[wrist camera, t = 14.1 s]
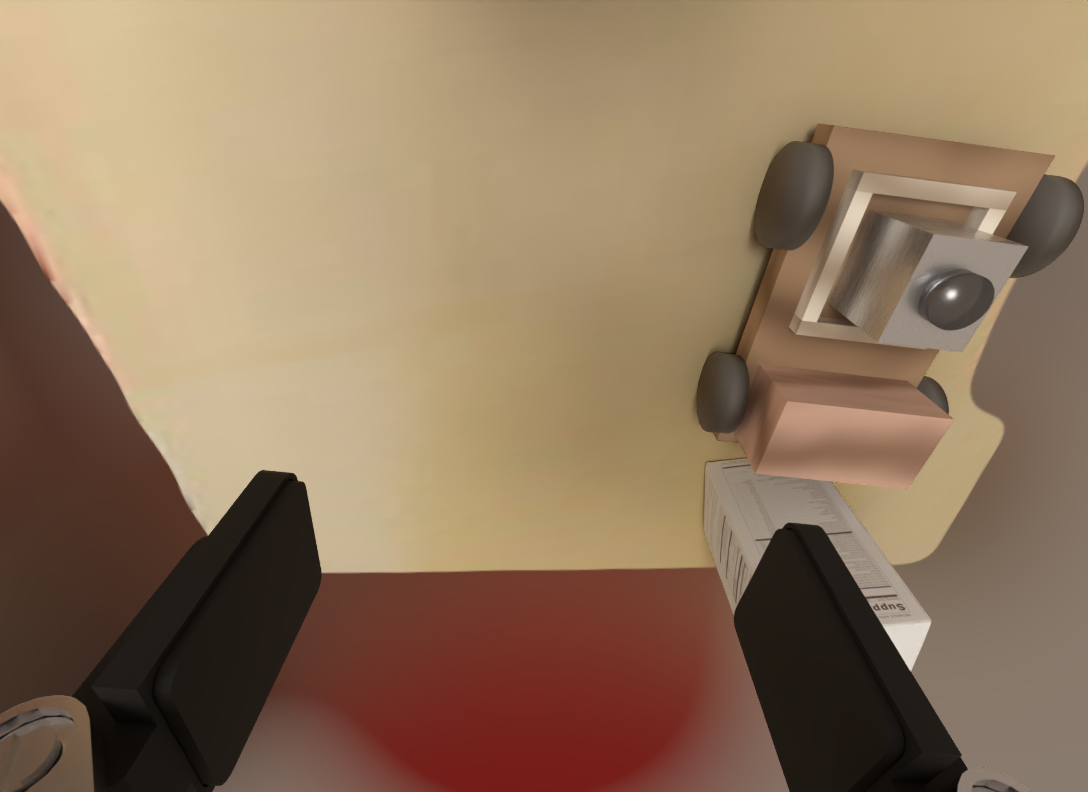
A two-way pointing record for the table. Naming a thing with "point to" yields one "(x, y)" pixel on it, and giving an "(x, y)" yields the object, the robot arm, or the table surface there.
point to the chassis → (833, 340)
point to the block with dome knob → (922, 279)
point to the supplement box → (772, 501)
